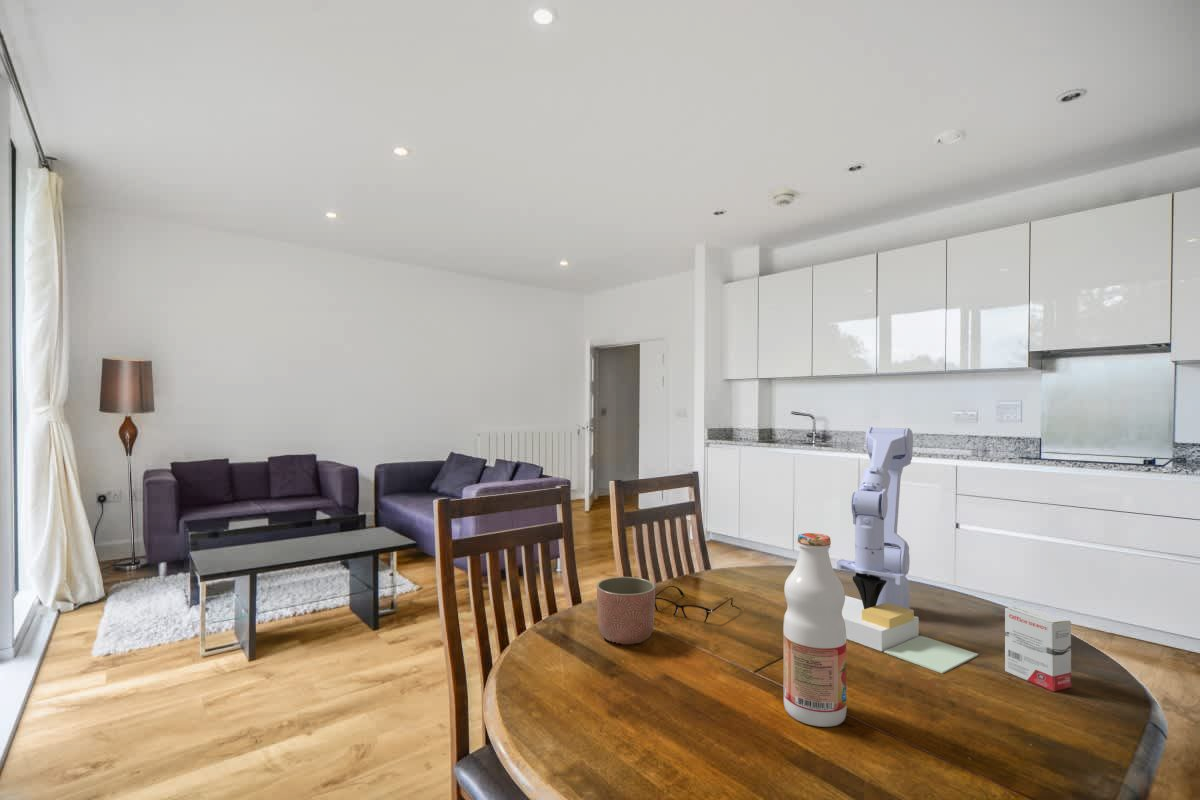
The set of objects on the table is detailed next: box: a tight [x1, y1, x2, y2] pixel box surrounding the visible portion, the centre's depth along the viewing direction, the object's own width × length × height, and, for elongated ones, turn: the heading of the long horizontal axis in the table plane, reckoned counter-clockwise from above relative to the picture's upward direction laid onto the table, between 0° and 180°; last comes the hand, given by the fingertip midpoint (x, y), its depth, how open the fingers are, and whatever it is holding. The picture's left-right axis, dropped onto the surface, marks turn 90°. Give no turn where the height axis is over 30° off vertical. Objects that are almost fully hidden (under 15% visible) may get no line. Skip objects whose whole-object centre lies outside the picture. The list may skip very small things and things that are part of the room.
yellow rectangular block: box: [862, 602, 915, 629], centre depth 121 cm, size 9×6×2 cm, turn 123°
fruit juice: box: [782, 532, 847, 728], centre depth 92 cm, size 9×9×28 cm
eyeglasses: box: [655, 585, 734, 623], centre depth 140 cm, size 16×16×4 cm
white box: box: [842, 594, 920, 652], centre depth 128 cm, size 14×22×4 cm, turn 34°
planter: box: [596, 576, 656, 645], centre depth 122 cm, size 12×12×11 cm
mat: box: [883, 635, 979, 674], centre depth 114 cm, size 14×11×1 cm
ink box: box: [1004, 605, 1072, 692], centre depth 104 cm, size 8×5×12 cm, turn 20°
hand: (869, 610), depth 125 cm, fingers closed
